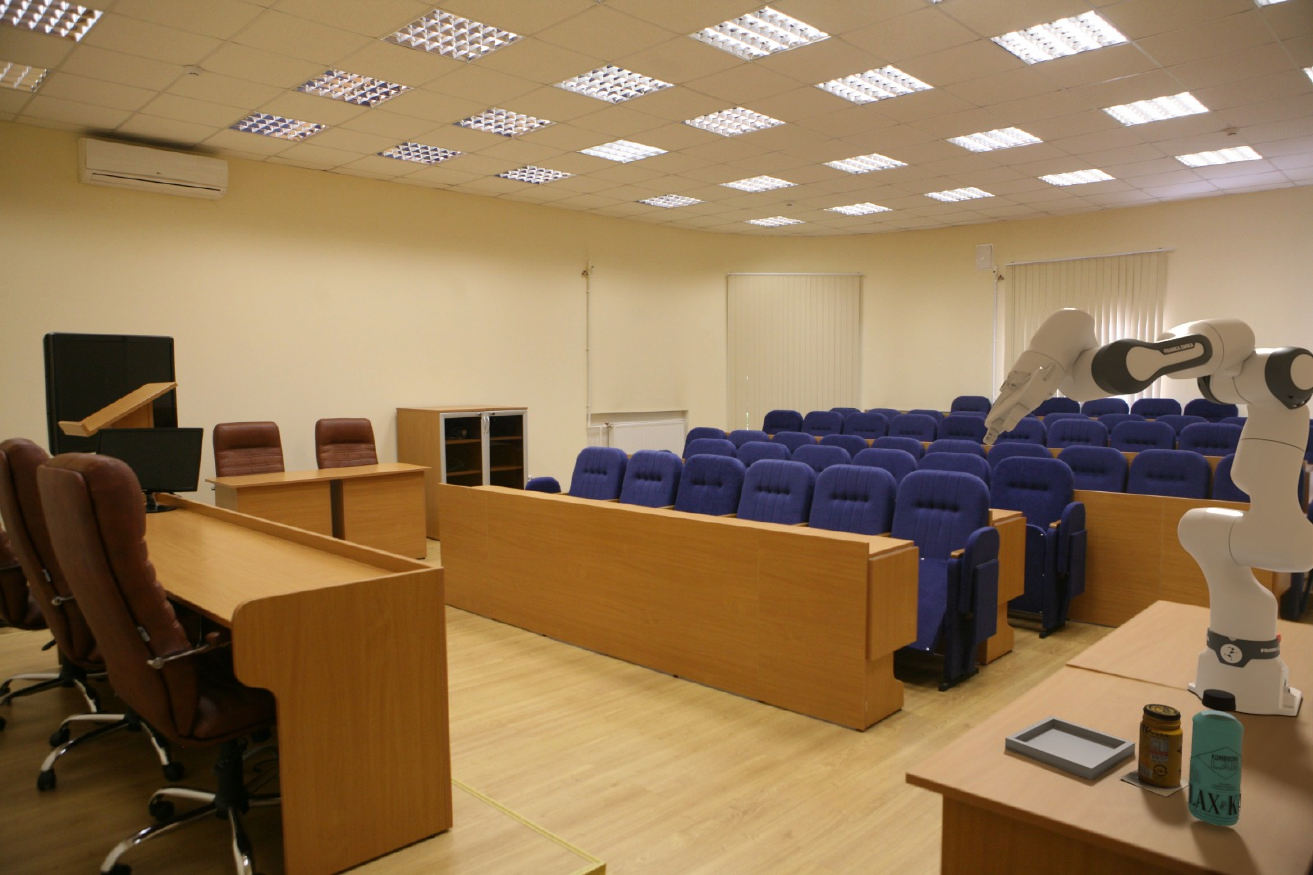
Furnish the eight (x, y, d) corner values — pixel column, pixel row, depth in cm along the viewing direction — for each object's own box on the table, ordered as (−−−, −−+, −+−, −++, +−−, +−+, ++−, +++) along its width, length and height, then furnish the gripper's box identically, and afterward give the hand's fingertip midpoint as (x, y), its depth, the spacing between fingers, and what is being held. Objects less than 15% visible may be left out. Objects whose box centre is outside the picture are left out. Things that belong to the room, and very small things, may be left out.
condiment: (1192, 783, 135) (1194, 711, 134) (1166, 797, 130) (1169, 723, 130) (1145, 766, 141) (1147, 697, 140) (1119, 779, 136) (1121, 708, 136)
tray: (1050, 726, 158) (1050, 715, 158) (1134, 753, 146) (1135, 742, 146) (1005, 748, 148) (1005, 737, 148) (1091, 780, 136) (1091, 768, 136)
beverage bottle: (1176, 814, 125) (1181, 684, 124) (1217, 812, 126) (1222, 683, 124) (1208, 838, 119) (1213, 701, 117) (1252, 836, 119) (1257, 699, 118)
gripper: (1074, 369, 146) (1035, 430, 143) (1027, 404, 166) (991, 459, 163) (1043, 349, 147) (1003, 409, 144) (999, 386, 167) (963, 440, 164)
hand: (996, 436), depth 154 cm, fingers open, 8 cm apart
